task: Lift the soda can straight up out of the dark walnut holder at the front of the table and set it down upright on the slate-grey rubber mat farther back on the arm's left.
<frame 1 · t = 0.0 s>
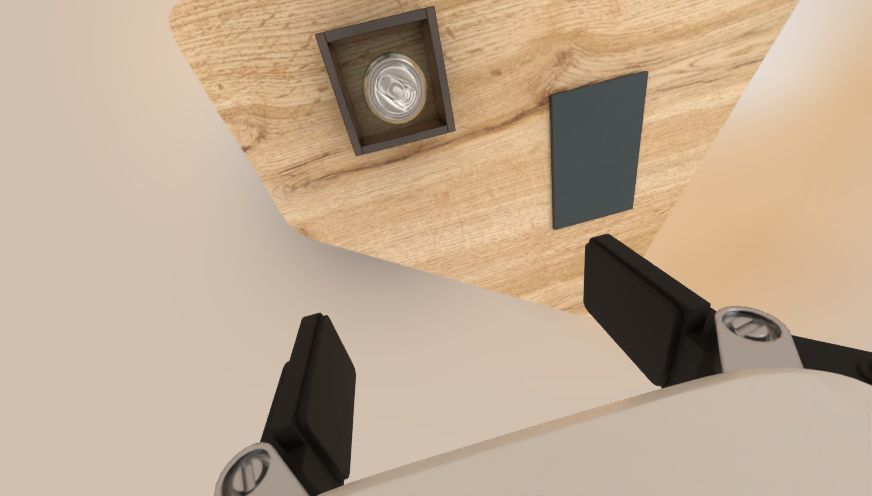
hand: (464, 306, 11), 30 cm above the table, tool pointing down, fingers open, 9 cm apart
soda can: (389, 85, 35), resting in holder
holder: (389, 85, 34), on the table
mat: (594, 157, 42), on the table
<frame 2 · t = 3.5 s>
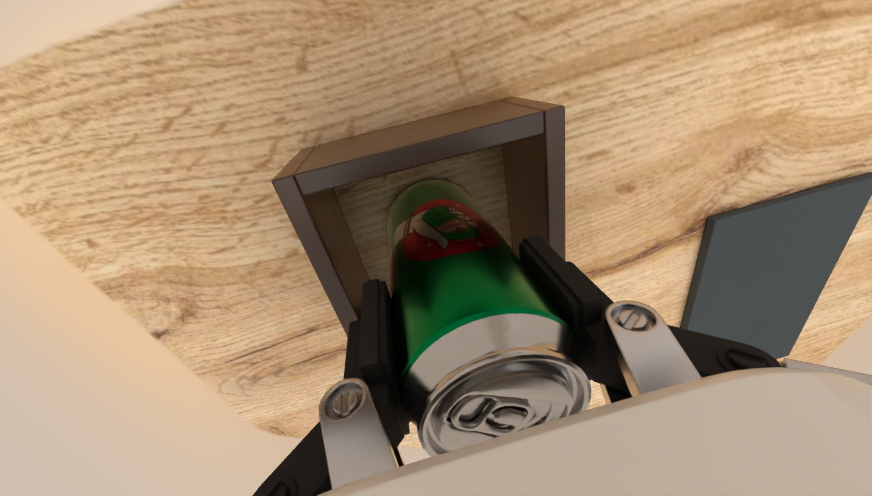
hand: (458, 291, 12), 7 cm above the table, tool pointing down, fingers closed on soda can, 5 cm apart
soda can: (430, 218, 18), resting in holder, touching gripper
holder: (431, 220, 18), on the table
mat: (751, 296, 26), on the table
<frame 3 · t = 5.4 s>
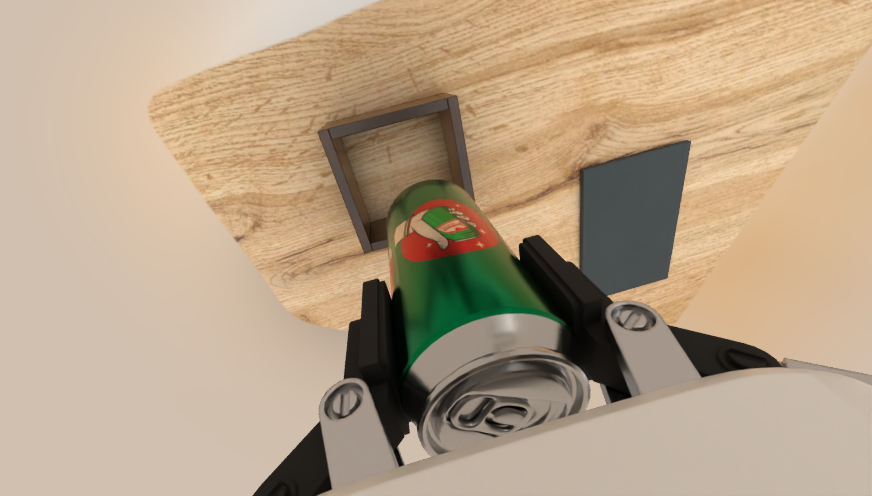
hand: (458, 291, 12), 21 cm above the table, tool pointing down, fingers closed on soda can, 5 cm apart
soda can: (430, 218, 18), point 14 cm above the table, touching gripper
holder: (402, 167, 30), on the table
mat: (627, 228, 38), on the table
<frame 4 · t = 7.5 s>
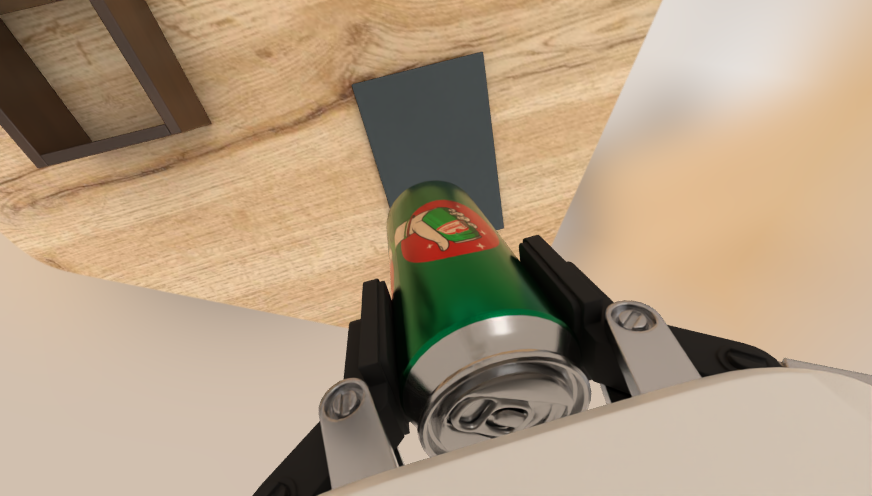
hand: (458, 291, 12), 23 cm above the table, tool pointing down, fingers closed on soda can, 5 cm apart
soda can: (431, 219, 18), point 16 cm above the table, touching gripper
holder: (107, 70, 25), on the table
mat: (437, 165, 33), on the table
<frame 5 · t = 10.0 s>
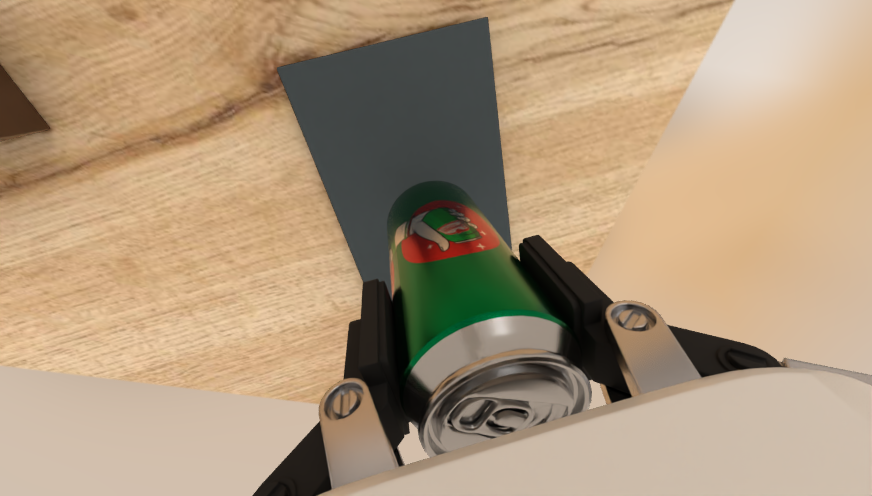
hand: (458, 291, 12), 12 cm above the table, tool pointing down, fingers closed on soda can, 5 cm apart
soda can: (431, 219, 18), point 5 cm above the table, touching gripper
mat: (420, 190, 23), on the table
when the fingers open (7 cm above the table, at t = 11.6 s): soda can stays where it is, resting on mat.
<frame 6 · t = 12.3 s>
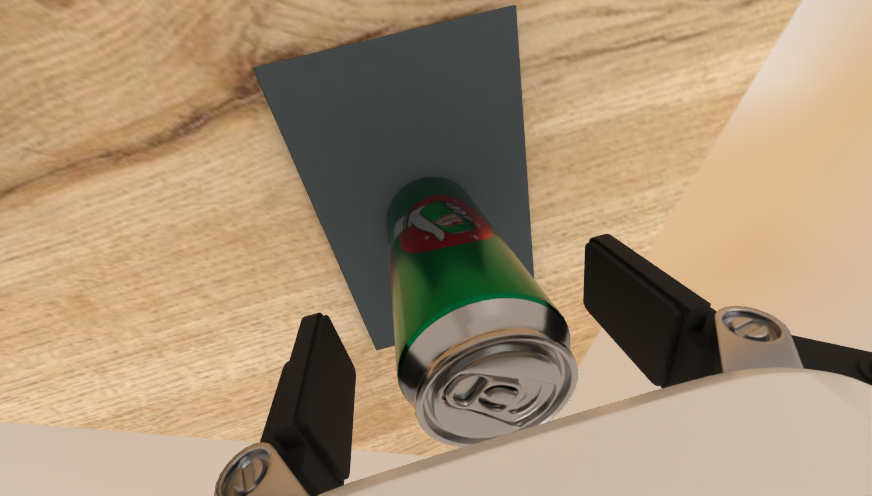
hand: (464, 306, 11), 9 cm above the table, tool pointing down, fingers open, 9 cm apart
soda can: (429, 215, 19), resting on mat
mat: (428, 213, 19), on the table
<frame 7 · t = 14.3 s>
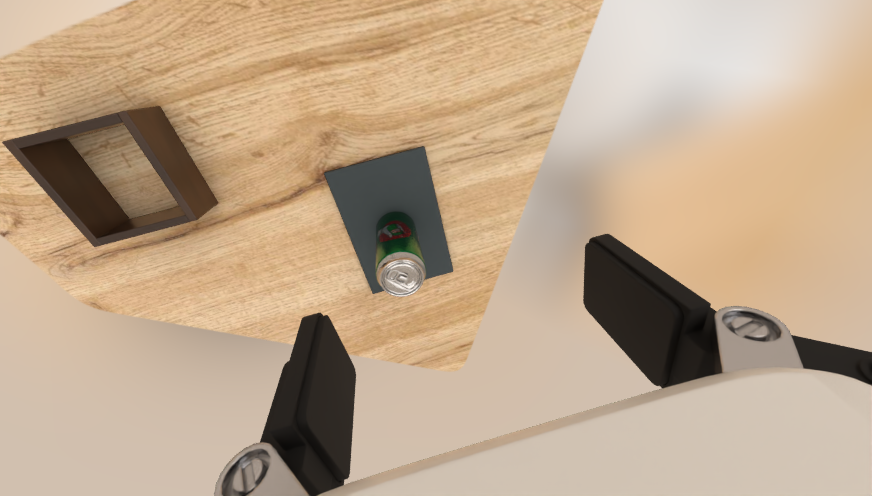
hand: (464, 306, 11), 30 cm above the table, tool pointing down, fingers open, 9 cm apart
soda can: (395, 227, 42), resting on mat
holder: (142, 170, 34), on the table
mat: (395, 226, 42), on the table
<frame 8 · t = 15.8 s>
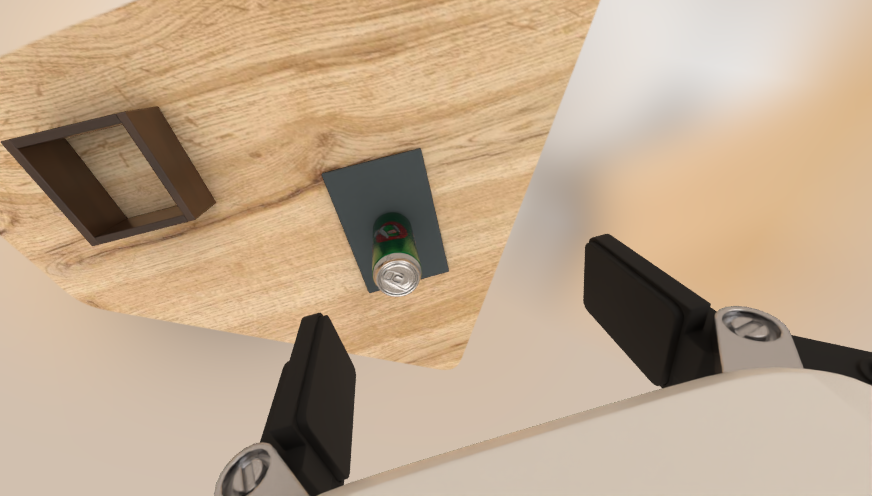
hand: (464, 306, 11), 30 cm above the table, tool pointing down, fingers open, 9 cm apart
soda can: (392, 227, 42), resting on mat
holder: (140, 170, 34), on the table
mat: (392, 226, 42), on the table
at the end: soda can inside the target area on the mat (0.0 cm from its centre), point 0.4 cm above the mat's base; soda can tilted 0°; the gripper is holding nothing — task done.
